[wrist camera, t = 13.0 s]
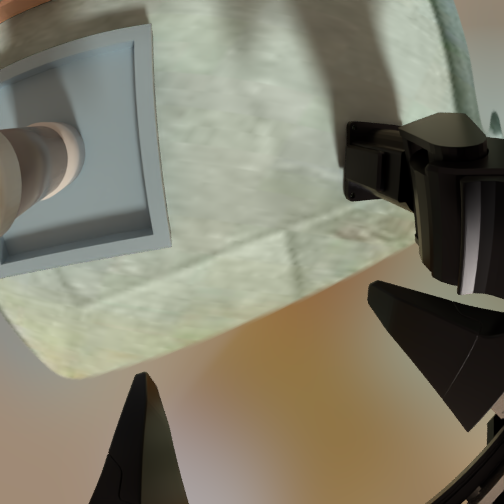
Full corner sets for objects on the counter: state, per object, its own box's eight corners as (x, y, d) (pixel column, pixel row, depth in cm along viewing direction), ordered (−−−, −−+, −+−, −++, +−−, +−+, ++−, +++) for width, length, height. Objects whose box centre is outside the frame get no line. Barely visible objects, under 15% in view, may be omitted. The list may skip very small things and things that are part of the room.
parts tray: (153, 35, 14) (151, 23, 12) (170, 232, 20) (171, 247, 18) (-21, 92, 11) (-39, 91, 8) (9, 263, 17) (-3, 279, 15)
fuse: (81, 114, 14) (-35, 110, 4) (90, 180, 16) (-4, 267, 5) (24, 132, 13) (-106, 164, 3) (34, 195, 15) (-76, 286, 4)
